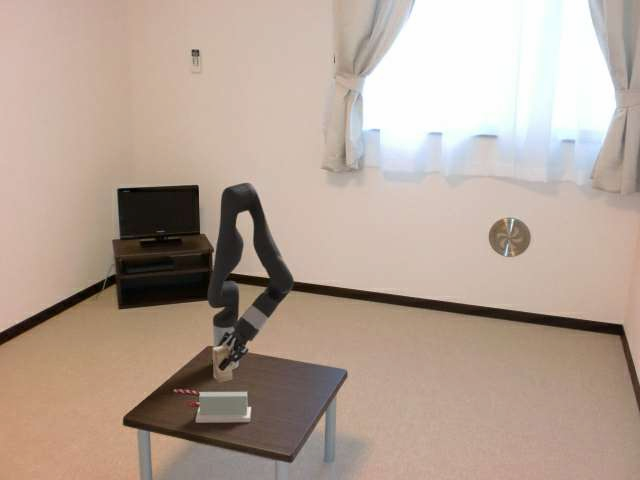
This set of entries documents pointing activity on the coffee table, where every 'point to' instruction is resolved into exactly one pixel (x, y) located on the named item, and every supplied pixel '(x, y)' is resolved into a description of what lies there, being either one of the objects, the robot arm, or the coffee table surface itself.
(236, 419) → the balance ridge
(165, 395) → the coffee table surface
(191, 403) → the candy cane
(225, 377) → the pine block
